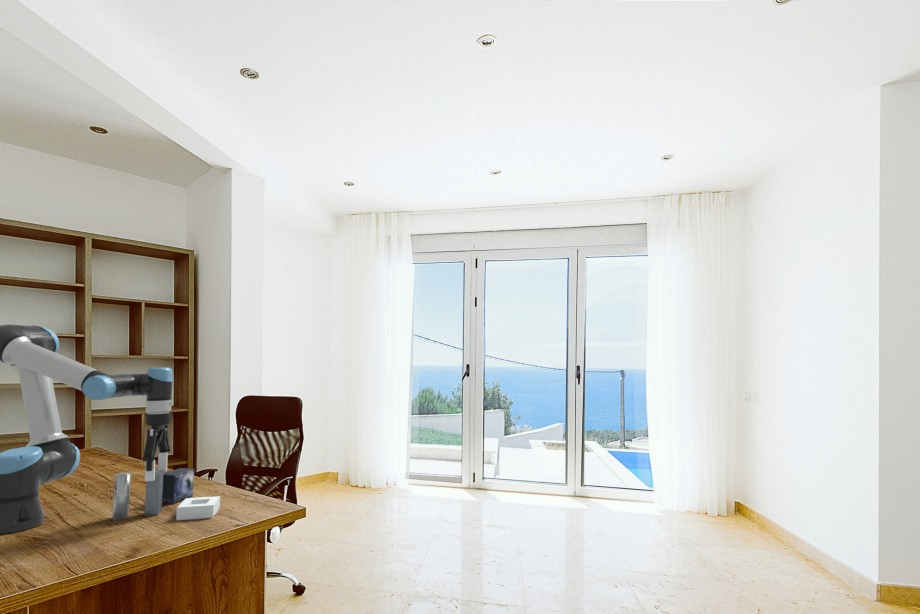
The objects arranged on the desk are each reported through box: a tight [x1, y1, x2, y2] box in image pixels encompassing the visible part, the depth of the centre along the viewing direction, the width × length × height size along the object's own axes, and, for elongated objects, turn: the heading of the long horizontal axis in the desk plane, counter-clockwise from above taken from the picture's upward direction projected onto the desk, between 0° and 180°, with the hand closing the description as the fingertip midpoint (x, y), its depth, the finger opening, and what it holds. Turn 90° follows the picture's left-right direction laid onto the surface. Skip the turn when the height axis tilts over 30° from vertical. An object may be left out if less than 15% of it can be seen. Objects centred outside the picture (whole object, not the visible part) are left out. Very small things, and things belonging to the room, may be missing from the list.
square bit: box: [143, 469, 165, 517], centre depth 174 cm, size 4×4×14 cm
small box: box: [162, 467, 195, 505], centre depth 190 cm, size 11×6×10 cm, turn 168°
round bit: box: [112, 472, 132, 521], centre depth 170 cm, size 4×4×14 cm
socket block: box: [175, 495, 221, 521], centre depth 174 cm, size 11×11×4 cm
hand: (156, 476), depth 175 cm, fingers open, 13 cm apart
